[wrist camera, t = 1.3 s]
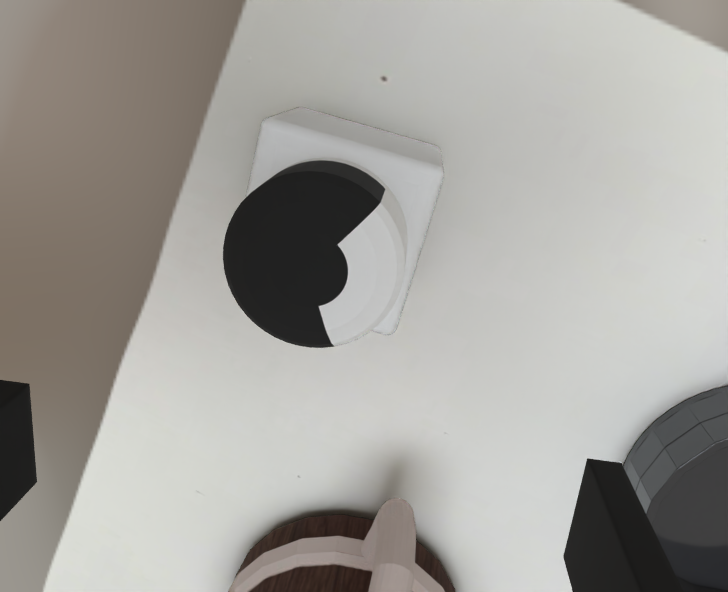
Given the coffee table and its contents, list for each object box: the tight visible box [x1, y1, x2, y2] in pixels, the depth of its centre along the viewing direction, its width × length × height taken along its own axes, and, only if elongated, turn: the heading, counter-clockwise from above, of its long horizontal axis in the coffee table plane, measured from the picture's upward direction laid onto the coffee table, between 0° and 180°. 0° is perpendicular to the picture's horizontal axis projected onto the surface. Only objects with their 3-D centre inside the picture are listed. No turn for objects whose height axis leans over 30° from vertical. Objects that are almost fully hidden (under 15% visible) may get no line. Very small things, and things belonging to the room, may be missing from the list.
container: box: [223, 107, 444, 348], centre depth 29 cm, size 8×8×13 cm
